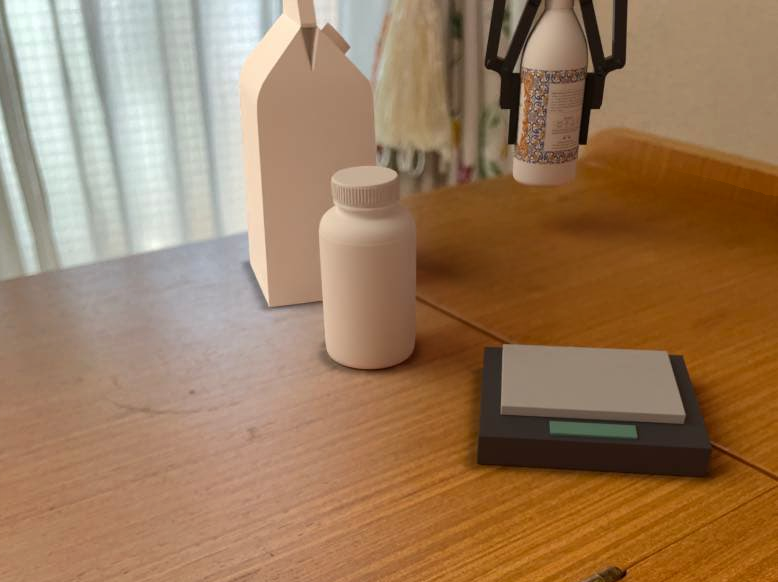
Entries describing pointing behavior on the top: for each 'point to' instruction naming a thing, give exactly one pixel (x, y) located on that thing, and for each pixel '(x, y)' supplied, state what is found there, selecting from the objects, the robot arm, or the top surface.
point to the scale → (590, 411)
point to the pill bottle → (368, 270)
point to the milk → (298, 146)
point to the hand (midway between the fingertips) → (546, 141)
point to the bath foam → (551, 98)
